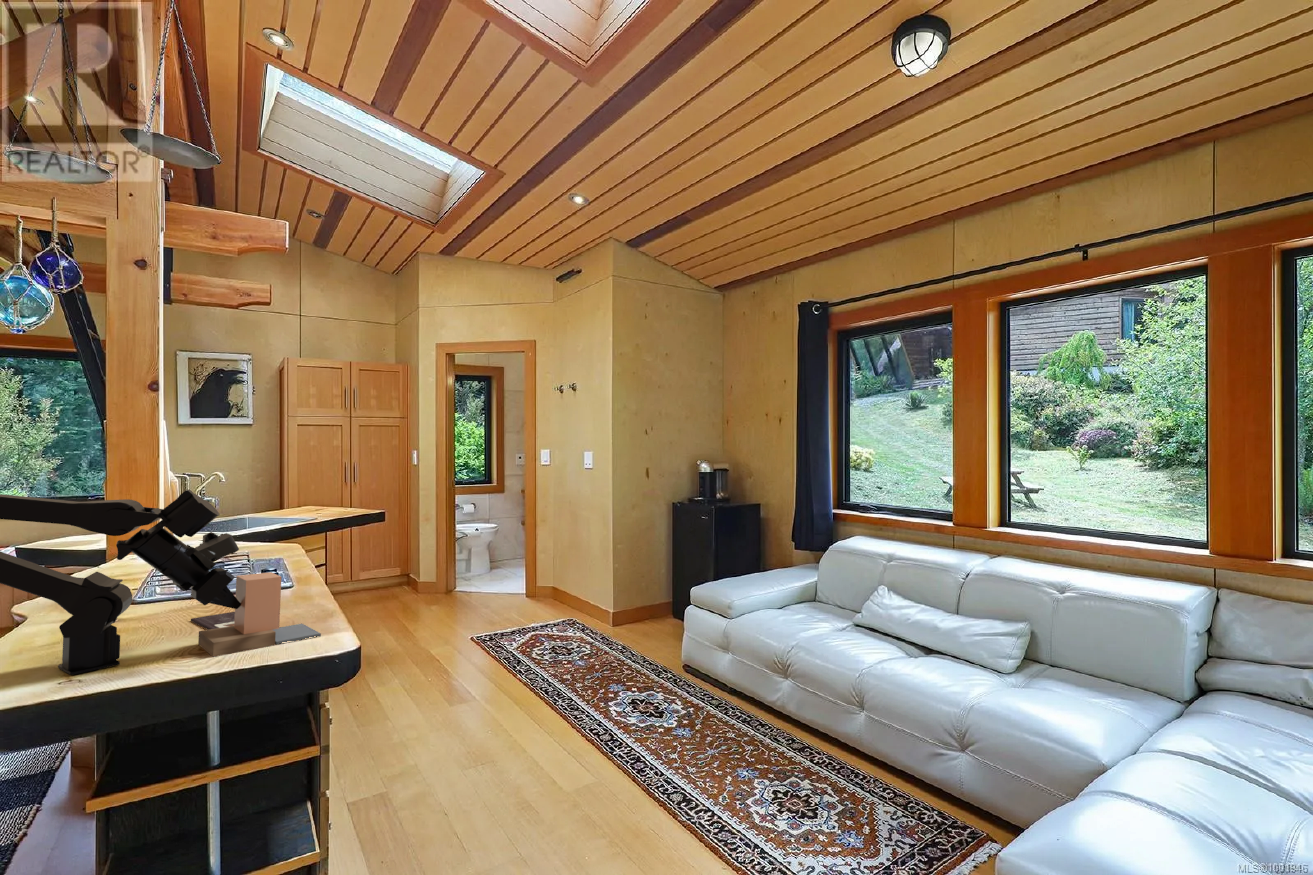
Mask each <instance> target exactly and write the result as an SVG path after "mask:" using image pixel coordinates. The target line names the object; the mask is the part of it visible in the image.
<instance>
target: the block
mask: <svg viewBox="0 0 1313 875" xmlns="http://www.w3.org/2000/svg"><path fill="white" fill-rule="evenodd" d="M235 579H236V580H235V582H236V583H235V597H236V598H237V600H238V601H239V602H240V603H241V606H240V607H239V608H238V609H234V612H235V620H234V628H235V629H237V630H238V631H240V632H241V633H243V634H249V633H255V632H261V631H267V630H273V629H279V627H280V622H281V621H280V620H281V619H280V615H281V597H282V576H281V575H279V574H276V573H273V572H270V571H269V572H261V573H260V572H259V573H254V574H253V573H252V574H243V575H236V578H235Z"/></svg>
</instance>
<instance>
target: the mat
mask: <svg viewBox="0 0 1313 875" xmlns="http://www.w3.org/2000/svg"><path fill="white" fill-rule="evenodd" d="M273 631H275V632H276V636H275V645H276V644H278V645H280V644H279V643H282V642H287V641H294V642H297V641H296V640H299V641H302V640H301V639H305V638H309V637H314V636H320V637H321V636H322V632H319V631H317V630H316V629H313V628H311V627H310V626H308V625H306V624H304V623H298V624H291V625H285V626H279V629H273ZM305 640H306V639H305Z"/></svg>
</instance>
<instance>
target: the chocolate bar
mask: <svg viewBox="0 0 1313 875" xmlns="http://www.w3.org/2000/svg"><path fill="white" fill-rule="evenodd" d="M234 620H235V611H231V612H229V611H228V612H223V613H218V614H212V615H211V614H210V615H204V616H198V617H192V618H190V622H191V623H194V624H195V625H197V626H199V627H201V628H203V629H205V630H210V629H216V628H222V627H228V626H234Z"/></svg>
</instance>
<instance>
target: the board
mask: <svg viewBox="0 0 1313 875" xmlns="http://www.w3.org/2000/svg"><path fill="white" fill-rule="evenodd" d="M275 636H276V632H275V631H273V630H267V631H261V632H255V633H249V634H243V633H241V632H240V631H238V630H237V629H235V628H234V626H228V627H222V628H216V629H210V630H207V629H205V630H198V643H197V644H198V646H200V648H201V649H203V650H204V651H205V652H206V653H208V654H209V655H210V656H211V657H219V656H220V657H221V656H225V655H230V654H235V653H240V652H247V651H250V650H256V649H261V648H262V649H263V648H267V647H266V646H268V647H272V646H271V645H273V646H276V644H275Z"/></svg>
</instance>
